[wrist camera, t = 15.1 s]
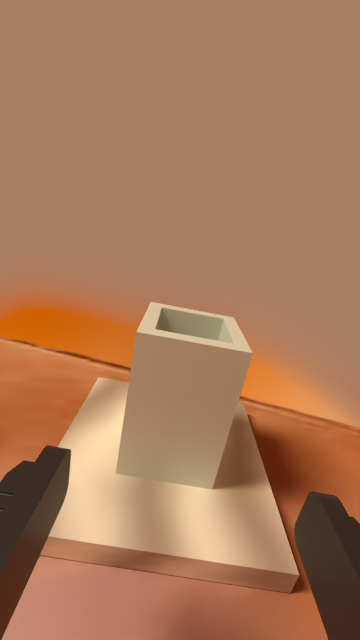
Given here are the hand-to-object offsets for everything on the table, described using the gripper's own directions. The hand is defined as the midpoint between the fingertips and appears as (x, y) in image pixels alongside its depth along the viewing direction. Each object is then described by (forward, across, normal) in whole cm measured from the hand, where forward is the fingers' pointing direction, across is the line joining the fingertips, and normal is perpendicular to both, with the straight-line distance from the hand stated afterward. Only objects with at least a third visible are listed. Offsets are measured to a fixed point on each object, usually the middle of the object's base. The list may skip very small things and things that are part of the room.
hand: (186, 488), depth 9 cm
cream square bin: (+10, 0, +8) cm, 13 cm away
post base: (+10, 0, +9) cm, 14 cm away
